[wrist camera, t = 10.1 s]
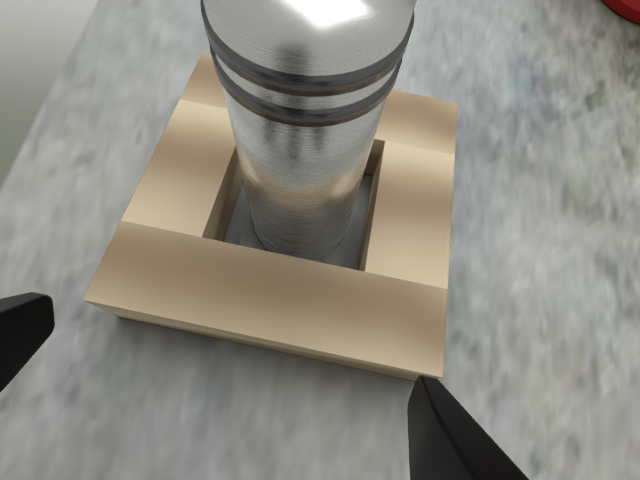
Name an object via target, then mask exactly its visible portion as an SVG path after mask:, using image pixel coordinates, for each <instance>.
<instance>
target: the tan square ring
mask: <svg viewBox="0 0 640 480" xmlns="http://www.w3.org/2000/svg"><path fill="white" fill-rule="evenodd" d="M456 122H457V103H455V102H450V101H445V100H440V99H435V98H430V97H425V96H420V95H415V94H410V93H405V92H400V91H395V90H391V92H390V93H389V94H388V96H387V98H386V102H385V105H384V108H383V112H382V115H381V118H380V121H379V125H378V128H377V131H376V134H375V138H374V141H373V144H372V147H371V151H370V154H369V157H368V160H367V164H366V167H365V170H364V174H369V175H373V179H372V185H371V191H370V197H369V203H368V209H367V215H366V221H365V227H364V233H363V239H362V246H361V252H360V258H359V264H358V270H355V269H350V268H345V267H340V266H336V265H331V264H326V263H321V262H317V261H312V260H307V259H302V258H298V257H293V256H288V255H283V254H279V253H274V252H269V251H264V250H260V249H255V248H250V247H245V246H241V245H236V244H231V243H226V242H223V239H224V236H225V233H226V230H227V227H228V224H229V222H230V219H231V216H232V213H233V210H234V207H235V204H236V201H237V198H238V195H239V192H240V189H241V187H242V184H243V181H244V180H243V175H242V171H241V166H240V162H239V157H238V153H237V148H236V144H235V140H234V135H233V131H232V126H231V122H230V117H229V113H228V109H227V104H226V100H225V95H224V91H223V86H222V84H221V83H220V81H219V79H218V77H217V74H216V71H215V68H214V64H213V59H212V55H211V54H210V53H205V52H202V54H201V56H200V58H199V61H198V63H197V65H196V67H195V69H194V71H193V73H192V75H191V77H190V79H189V81H188V83H187V85H186V87H185V89H184V91H183V93H182V96H181V98H180V100H179V102H178V104H177V106H176V108H175V110H174V112H173V114H172V116H171V118H170V120H169V122H168V124H167V126H166V129H165V131H164V133H163V135H162V137H161V139H160V141H159V143H158V145H157V147H156V149H155V151H154V153H153V155H152V157H151V159H150V162H149V164H148V166H147V168H146V170H145V172H144V174H143V176H142V178H141V180H140V182H139V184H138V186H137V188H136V190H135V192H134V195H133V197H132V199H131V201H130V203H129V205H128V207H127V209H126V211H125V213H124V215H123V217H122V219H121V221H120V223H119V225H118V228H117V230H116V232H115V234H114V236H113V238H112V240H111V242H110V244H109V246H108V248H107V250H106V252H105V254H104V256H103V258H102V261H101V263H100V265H99V267H98V269H97V271H96V273H95V275H94V277H93V279H92V281H91V283H90V285H89V287H88V289H87V291H86V293H85V296H84V298H83V300H84V301H86V302H88V303H90V304H93V305H95V306H97V307H99V308H101V309H103V310H105V311H107V312H109V313H111V314H113V315H115V316H118V317H122V318H127V319H132V320H136V321H141V322H145V323H150V324H155V325H159V326H164V327H168V328H173V329H178V330H182V331H187V332H192V333H196V334H201V335H205V336H210V337H215V338H219V339H224V340H229V341H233V342H238V343H242V344H247V345H252V346H256V347H261V348H266V349H270V350H275V351H279V352H284V353H289V354H293V355H298V356H303V357H307V358H312V359H316V360H321V361H326V362H330V363H335V364H340V365H344V366H349V367H353V368H358V369H363V370H367V371H372V372H376V373H381V374H386V375H390V376H395V377H400V378H404V379H409V380H413V381H416V379H417V377H418V376H419V375H425V376H430V377H434V378H443V367H444V348H445V329H446V310H447V292H448V273H449V254H450V235H451V216H452V197H453V178H454V160H455V141H456Z"/></svg>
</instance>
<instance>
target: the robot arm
mask: <svg viewBox="0 0 640 480" xmlns="http://www.w3.org/2000/svg"><path fill="white" fill-rule="evenodd" d="M54 326H55V321H54V310H53V301H52V298H51V297H50V296H48V295H44V294H40V293H35V292H30V293H25V294H21V295H16V296H12V297H7V298H3V299H0V392H1V391H2V390H3V389H4V388H5V387H6V386H7V385H8V384H9V383H10V381H11V380H12V379H13V378H14V377H15V376H16V375H17V373H18V372H19V371H20V370H21V369H22V368H23V366H24V365H25V364H26V363H27V362H28V361H29V359H30V358H31V357H32V356H33V355H34V354H35V352H36V351H37V350H38V349H39V348H40V347H41V345H42V344H43V343H44V342H45V341H46V340H47V338H48V337H49V336H50V335H51V333H52V332H53V329H54ZM407 413H408V439H409V465H410V480H529V479H528V478H527V477H526V476H525V475H524V474H523V472H522V471H521V470H520V469H519V468H518V467H517V466H516V465H515V464H514V463H513V461H512V460H511V459H510V458H509V457H508V456H507V455H506V454H505V453H504V452H503V450H502V449H501V448H500V447H499V446H498V445H497V444H496V443H495V442H494V441H493V439H492V438H491V437H490V436H489V435H488V434H487V433H486V432H485V431H484V430H483V429H482V427H481V426H480V425H479V424H478V423H477V422H476V421H475V420H474V419H473V418H472V416H471V415H470V414H469V413H468V412H467V411H466V410H465V409H464V408H463V407H462V405H461V404H460V403H459V402H458V401H457V400H456V399H455V398H454V397H453V396H452V394H451V393H450V392H449V391H448V390H447V389H446V388H445V387H444V386H443V385H442V384H441V382H440V381H439V380H438V379H436V378H434V377H430V376H425V375H419V376H418V377H417V379H416V381H415V384H414V387H413V390H412V393H411V396H410V399H409V402H408V410H407Z"/></svg>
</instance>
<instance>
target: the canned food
mask: <svg viewBox="0 0 640 480" xmlns="http://www.w3.org/2000/svg"><path fill="white" fill-rule="evenodd" d="M603 1H604V3H605V4H606V5H607V6H608V7H609V8H610V9H612V10H613V11H615V12H616V13H617V14H619V15H621V16H622V17H624V18H626V19H628V20H630V21H632V22H635V23H638V24H640V0H603Z"/></svg>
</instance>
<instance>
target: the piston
mask: <svg viewBox="0 0 640 480" xmlns="http://www.w3.org/2000/svg"><path fill="white" fill-rule="evenodd" d="M415 4H416V0H201V12H202V17H203V21H204V26H205V30H206V34H207V37H208V40H209V43H210V51H211V55H212V59H213V64H214V68H215V71H216V74H217V77H218V79H219V81H220V83H221V84H222V86H223V91H224V95H225V100H226V104H227V109H228V113H229V117H230V122H231V126H232V131H233V135H234V140H235V144H236V148H237V153H238V157H239V162H240V166H241V171H242V175H243V180H244V184H245V188H246V193H247V197H248V202H249V206H250V211H251V215H252V220H253V224H254V228H255V231H256V234H257V236H258V238H259V240H260V241H261V243H262V244H263V245H264V246H265V247H266V248H267V249H268V250H269V251H270V252H274V253H279V254H283V255H288V256H293V257H298V258H302V259H307V260H316V259H319V258H321V257H323V256H325V255H327V254H329V253H330V252H332V251H333V250H334V249H335V248H336V247H337V246H338V245H339V243H340V242H341V241H342V239H343V237H344V235H345V232H346V229H347V226H348V222H349V219H350V216H351V213H352V209H353V206H354V203H355V200H356V196H357V193H358V190H359V187H360V183H361V180H362V177H363V173H364V170H365V167H366V164H367V160H368V157H369V154H370V151H371V147H372V144H373V141H374V138H375V134H376V131H377V128H378V125H379V121H380V118H381V115H382V112H383V108H384V105H385V102H386V98H387V96H388V94H389V93H390V92H391V90H392V88H393V86H394V84H395V81H396V78H397V75H398V72H399V69H400V65H401V62H402V57H403V54H404V53H405V49H406V46H407V43H408V40H409V37H410V34H411V31H412V28H413V23H414V7H415Z"/></svg>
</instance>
